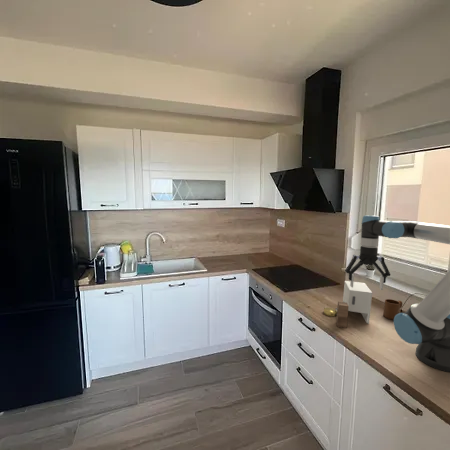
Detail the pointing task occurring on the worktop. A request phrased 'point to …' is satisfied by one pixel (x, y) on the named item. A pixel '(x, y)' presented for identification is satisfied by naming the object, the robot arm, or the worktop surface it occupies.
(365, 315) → the cabinet
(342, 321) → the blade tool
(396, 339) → the worktop surface
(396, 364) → the worktop surface
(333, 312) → the brass token
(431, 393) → the worktop surface
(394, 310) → the mug
